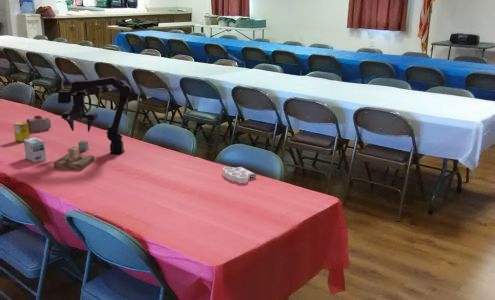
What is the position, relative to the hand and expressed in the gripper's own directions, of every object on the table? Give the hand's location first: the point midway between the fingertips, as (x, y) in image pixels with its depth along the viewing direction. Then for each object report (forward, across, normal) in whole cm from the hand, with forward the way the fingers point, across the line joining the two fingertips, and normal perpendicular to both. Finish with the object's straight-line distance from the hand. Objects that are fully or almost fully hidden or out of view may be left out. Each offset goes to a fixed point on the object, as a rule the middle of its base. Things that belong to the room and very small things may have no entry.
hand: (80, 131), depth 291 cm
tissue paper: (+14, +91, -20) cm, 94 cm away
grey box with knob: (+13, -48, +40) cm, 64 cm away
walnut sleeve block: (+13, +4, -18) cm, 23 cm away
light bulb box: (+13, -20, -14) cm, 28 cm away
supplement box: (+13, -45, +16) cm, 50 cm away
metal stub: (+13, -2, +6) cm, 15 cm away
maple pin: (+13, +4, -18) cm, 22 cm away
